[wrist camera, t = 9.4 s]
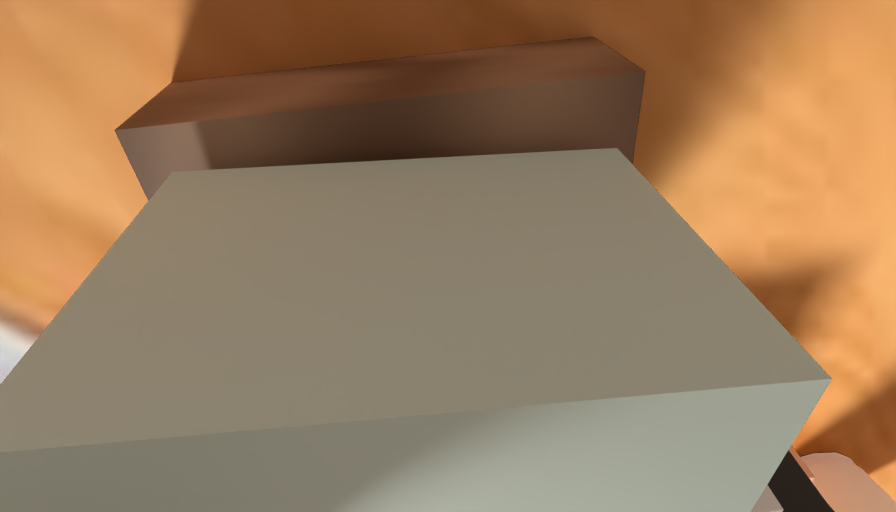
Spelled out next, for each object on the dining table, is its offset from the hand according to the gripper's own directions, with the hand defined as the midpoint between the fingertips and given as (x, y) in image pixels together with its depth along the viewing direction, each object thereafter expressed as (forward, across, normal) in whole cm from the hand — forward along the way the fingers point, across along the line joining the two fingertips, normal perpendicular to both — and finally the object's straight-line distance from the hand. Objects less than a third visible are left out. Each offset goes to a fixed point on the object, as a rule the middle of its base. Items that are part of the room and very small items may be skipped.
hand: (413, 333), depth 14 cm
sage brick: (0, 0, 0) cm, 0 cm away
